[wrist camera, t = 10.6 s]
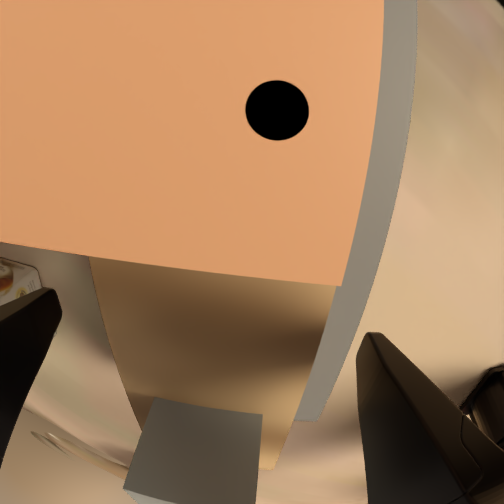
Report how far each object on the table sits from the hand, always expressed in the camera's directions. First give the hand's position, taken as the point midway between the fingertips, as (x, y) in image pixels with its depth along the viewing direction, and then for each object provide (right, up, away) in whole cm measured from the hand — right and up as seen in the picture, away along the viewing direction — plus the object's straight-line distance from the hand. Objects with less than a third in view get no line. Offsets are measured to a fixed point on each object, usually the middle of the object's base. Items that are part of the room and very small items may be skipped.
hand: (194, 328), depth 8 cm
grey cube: (0, -5, +3) cm, 6 cm away
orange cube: (+1, +5, -3) cm, 6 cm away
